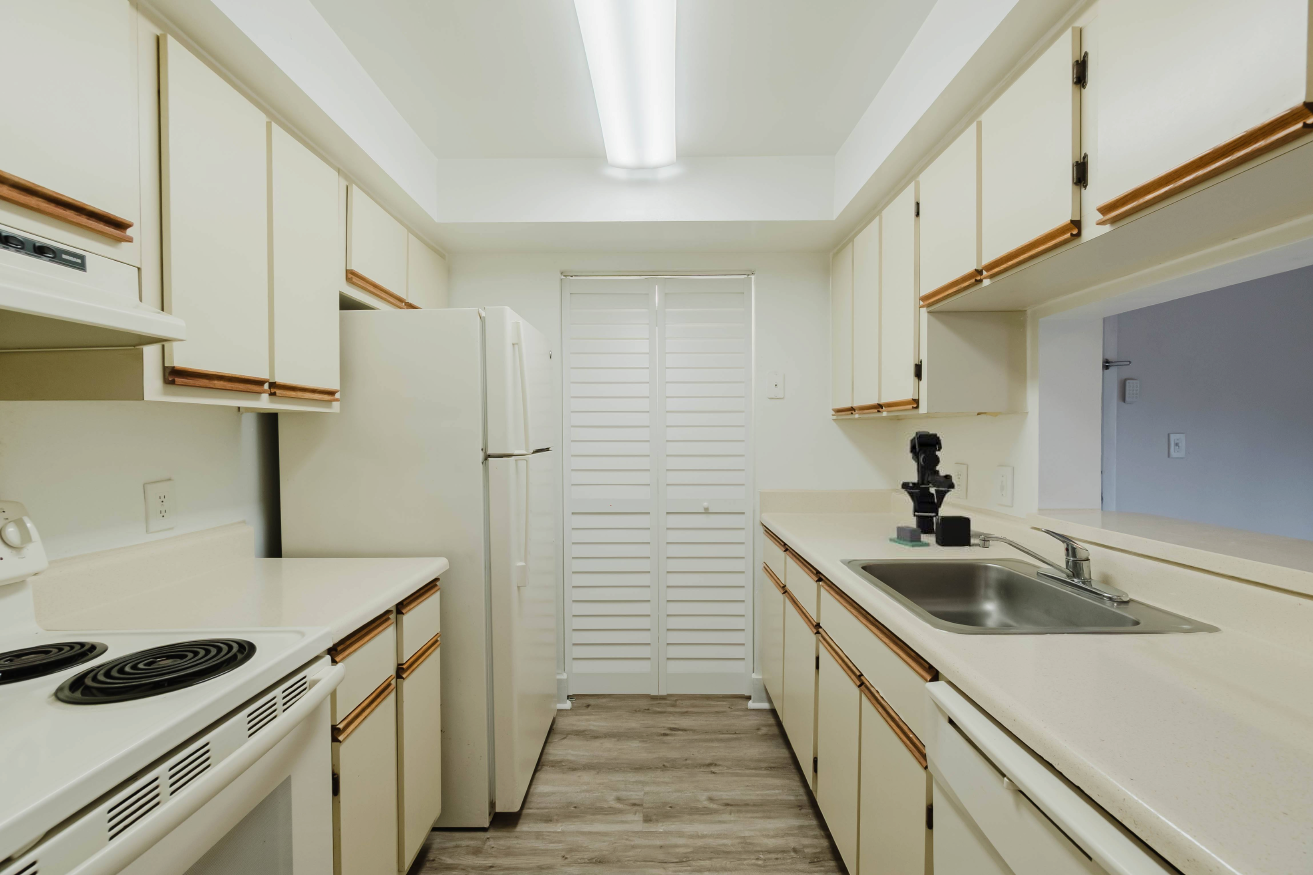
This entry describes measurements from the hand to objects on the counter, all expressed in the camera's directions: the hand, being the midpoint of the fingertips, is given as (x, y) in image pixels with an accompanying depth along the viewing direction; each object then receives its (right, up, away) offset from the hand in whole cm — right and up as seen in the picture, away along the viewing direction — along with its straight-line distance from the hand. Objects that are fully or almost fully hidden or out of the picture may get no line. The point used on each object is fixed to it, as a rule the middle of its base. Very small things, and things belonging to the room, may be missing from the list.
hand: (928, 508), depth 200 cm
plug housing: (-12, -10, -11) cm, 19 cm away
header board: (-12, -11, -11) cm, 20 cm away
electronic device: (+1, -11, -15) cm, 19 cm away
